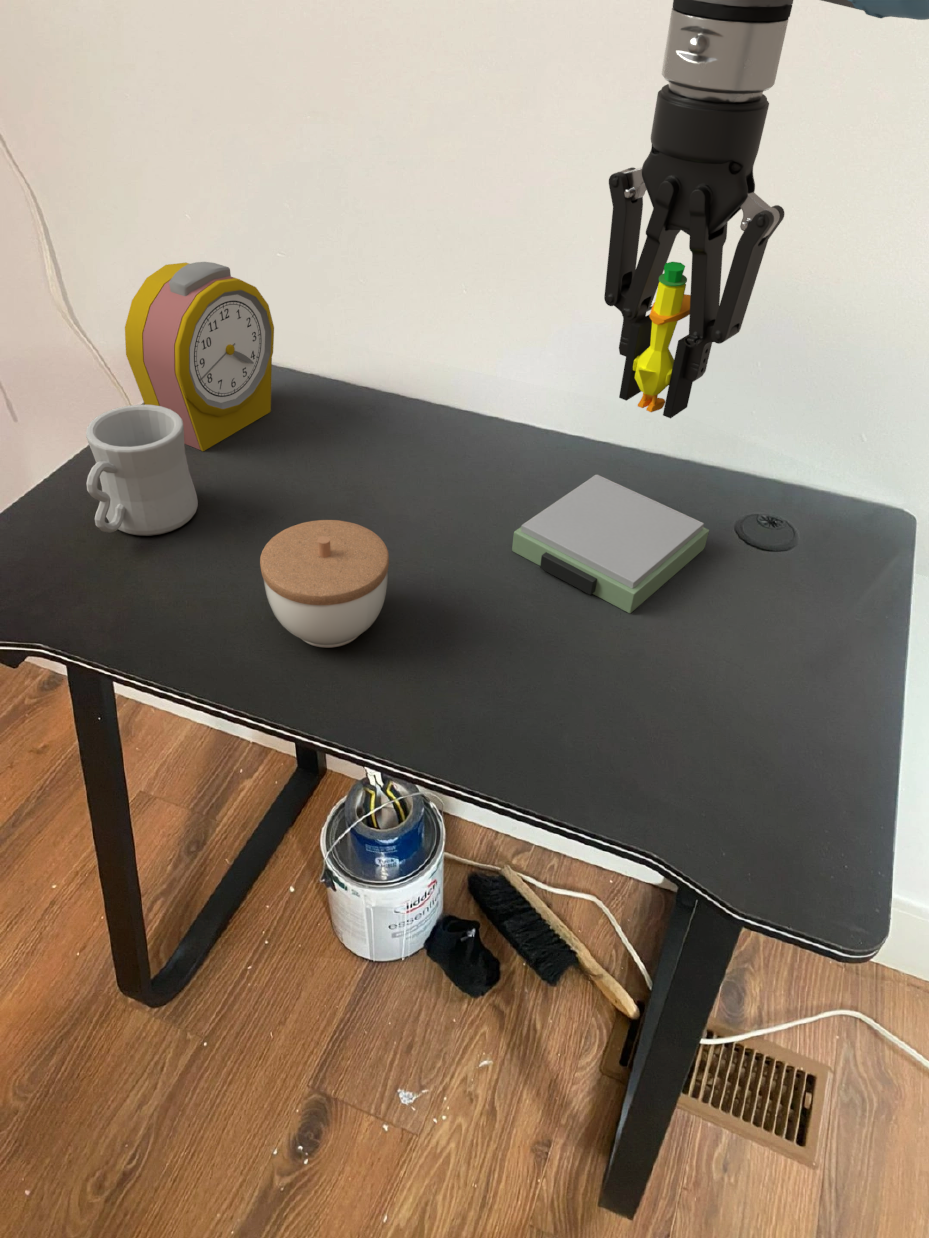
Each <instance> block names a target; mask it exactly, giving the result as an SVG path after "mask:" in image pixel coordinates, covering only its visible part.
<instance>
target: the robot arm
mask: <svg viewBox="0 0 929 1238" xmlns="http://www.w3.org/2000/svg"><path fill="white" fill-rule="evenodd" d="M821 1H822V2H826V3H829V4H834V5H837V6H838V5H839V6H841V7H842V6H843V7H846V8H851V9H855V10H859V11H863V12H864V14H865V15H867V16H870V17H874V18H877V19H884V18H890V17H891V18H899V19H911V20H917V21H926V20H929V0H820V2H821ZM793 4H794V0H672V8H671V10H670V16H669V17H670V18H669V23H668V30H667V36H666V44H665V48H664V56H663V62H662V67H661V76H662V77H663V79H664V80H665V81H667V84H664V85H663V86H662V87H661V89H660V90H659V91H658V92H657V94H656V95H657V96H656V102H655V107H654V114H653V121H652V125H651V126H652V127H651V132H650V143H651V148H650V151H649V154H648V155H647V157H646V158H645V160H644V162H643V164H642V167H638V168H635V167H629V168H626V169H623V170H620V171H617V172H614V173H612V174H611V175H610V176H609V177H608V187H609V193H610V198H611V202H612V213H611V222H610V223H611V225H610V235H609V244H608V247H609V248H608V254H607V266H606V275H605V284H604V285H605V287H604V295H603V296H604V302H605V304H606V305H607V306H608V307H613V306H614V307H615V308H616V309H617V310H618V311H620V313H621V316H622V326H621V333H620V339H619V344H618V351H619V355H621V356H623V357H625V360H624V367H623V372H622V378H621V384H620V390H619V396H618V397H619V399H621V400H624V401H628V400H630V399H632V398H634V397H635V396H637V395H638V394H640V393H642V391H641V390H640V388H639V386H638V384H637V382H636V380H635V373H636V371H633V363H634V360H635V358H636V357H637V356H638V355H639V356H640V355H641V354H642V353H643V352H644V351H645V350H646V349H647V348H648V347H650V342H651V329H652V320H651V319H650V317H649V315H650V313H649V314H648V315H647V313H648V312H649V311H651V309H652V306H653V301H654V299H655V297H656V294H657V289H658V284H659V282H660V281H659V276H660V275H662V274H664V266H665V264H666V263H668V260H669V257H670V254H671V252H672V249H673V246H674V244H675V240H676V238H677V236H678V235H679V233H680V232H681V231H682V232H683V233H685V234H687V235H688V236H689V242H688V246H689V247H688V248H689V251H690V252H691V277H690V294H689V295H690V315H689V318H688V319H689V320H688V334H687V335H685V336H683V337H682V338H680V339H679V340H677V344H676V349H675V354H674V357H673V358H674V363H673V368H672V373H671V378H670V383H669V385H668V386H667V387H668V388H667V393H666V398H665V404H664V406H663V412H662V416H663V417H666V418H668V419H672V418H674V417H675V416H676V415H679V414H680V413H681V412H682V411H684V410H685V409H687V408H688V405H689V401H690V396H691V392H692V387H693V383H694V382H696V381H697V380H699V379H700V378H702V377H703V376H704V374H705V373H706V371H707V367H708V363H709V358H710V354H711V351H712V350H711V348H712V347H713V343H715V344H717V345H720V344H723V343H724V342H726V341H728V340H730V339H731V338H732V337H734V336H736V335H738V333H740V331H741V328H742V326H743V322H744V318H745V316H746V313H747V310H748V307H749V303H750V299H751V296H752V293H753V291H754V287H755V283H756V280H757V277H758V274H759V271H760V268H761V264H762V261H763V258H764V255H765V252H766V248H767V246H768V242H769V240H770V238H771V237H772V235H773V234H774V232H775V231H776V230H777V228H778V227H779V226H780V224H781V223H782V222H783V220H784V217H785V210H784V209H785V208H783V207H782V206H781V205H779V204H775V205H772V206H770V205H769V204H768V203H767V202H766V201H765V200H763V199H762V197H760V196H759V195H757V194H756V192H755V191H756V182H755V178H754V177H755V176H754V166H755V163H756V162H755V161H756V159H757V157H758V153H759V150H760V145H761V141H762V137H763V132H764V128H765V125H766V119H767V116H768V112H769V111H768V110H769V107H770V102H769V101H768V98H767V96H766V94H764V92H766V91H769V90H770V89H771V88H772V87H774V86H775V84H776V78H777V74H778V70H779V64H780V61H781V56H782V52H783V51H782V50H783V47H784V42H785V36H786V33H787V28H788V23H789V18H790V17H791V13H792V10H793V9H792V8H793ZM646 192H647V194H648V198H649V200H650V203H651V205H652V212H651V215H650V218H649V220H648V223H647V225H646V230H645V235H646V238H645V241H644V244H643V247H642V250H641V252H640V256H639V259H638V253H639V243H640V235H641V227H642V218H643V209H644V197H645V194H646ZM740 211H742V219H741V221H740V226H739V229H740V230H741V231H742V232H743V233H742V234H741V236H740V238H739V240H738V241H737V244H736V247H735V251H734V254H733V257H732V262H731V264H730V268H729V271H728V275H727V278H726V282H725V285H724V289H723V292H722V295H721V285H722V284H721V283H722V268H723V254H724V252H723V251H724V245H725V244H726V242H727V238H728V237H727V236H728V224H729V223H728V222H729V221H730V220H731V219H732V218H733V217H735V215H736V214H737V213H739V212H740Z"/></svg>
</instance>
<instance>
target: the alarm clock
mask: <svg viewBox="0 0 929 1238" xmlns="http://www.w3.org/2000/svg"><path fill="white" fill-rule="evenodd" d="M269 305H270V304H269V303H268V302H267V301H266V299H265V297H264V296H263V295H262V294H261V292H260V290H258V288H257V287H256V286H255V285H253V284H251V283H248V282H246V281H244V280H242V279H240V278H237V277H234V276H232V274H231V268H230V267H229V266H226V265H223V264H219V263H216V262H212V261H211V262H210V261H196V262H191V263H189V262H179V263H169V264H165V265H163V266H161V267H160V268H158V269H157V270H156V271H155V272H153V273H151V274H150V275H148V276H147V277H146V278H145V279H144V281H143V283H142V284H141V286H140V287H139V289H138V290H137V292H136V293H135V295H134V296H133V298H132V299H131V303H130V306H129V309H128V314H127V317H126V320H125V321H126V322H125V325H124V339H125V344H124V345H125V357H126V359H127V361H128V364H129V366H130V369H131V372H132V375H133V377H134V380H135V383H136V385H137V388H138V390H139V393H140V396H141V398H142V400H143V403H144V404H143V405H155V406H162V407H165V408H168V409H170V410H172V411H174V412H175V413H177V414H178V415H179V416H180V418H181V419H182V421H183V427H184V445H186V446H189V447H192V448H194V449H195V450H196V449H197V450H199V451H201V452H205V451H206V450H208V449H210V448H211V447H213V446H215V445H216V444H218V443H220V442H222V441H223V440H225V439H227V438H228V437H230V436H232V435H234V434H236V433H238V432H239V431H240V430H242V429H244V428H246V427H247V426H249V425H251V424H253V423H254V422H256V421H257V420H259V419H261V418H263V417H264V416H266V415H268V414H270V413H271V412H272V375H273V374H272V371H273V369H272V368H273V367H272V366H273V365H272V364H273V354H274V340H275V325H274V322H273V317H272V313H271V309H270V306H269Z"/></svg>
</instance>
